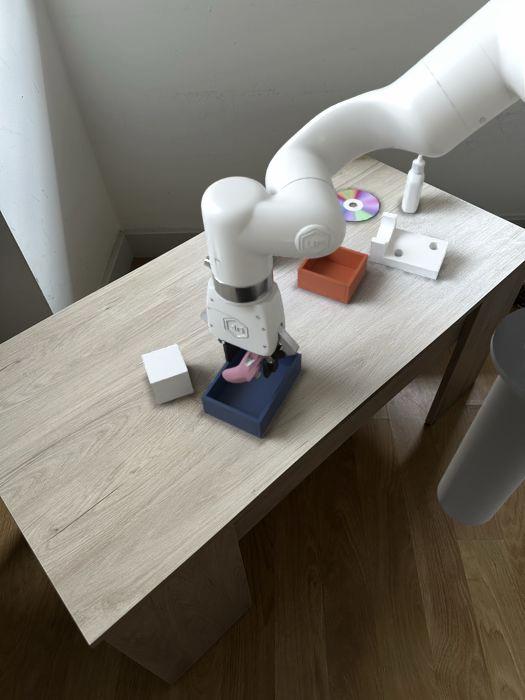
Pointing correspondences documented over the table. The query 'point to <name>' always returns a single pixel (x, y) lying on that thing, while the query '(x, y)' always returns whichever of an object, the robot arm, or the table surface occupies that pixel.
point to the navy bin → (251, 395)
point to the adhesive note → (167, 373)
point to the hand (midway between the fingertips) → (251, 362)
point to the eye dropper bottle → (413, 186)
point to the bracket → (407, 249)
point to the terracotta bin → (333, 274)
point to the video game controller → (245, 369)
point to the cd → (365, 205)
